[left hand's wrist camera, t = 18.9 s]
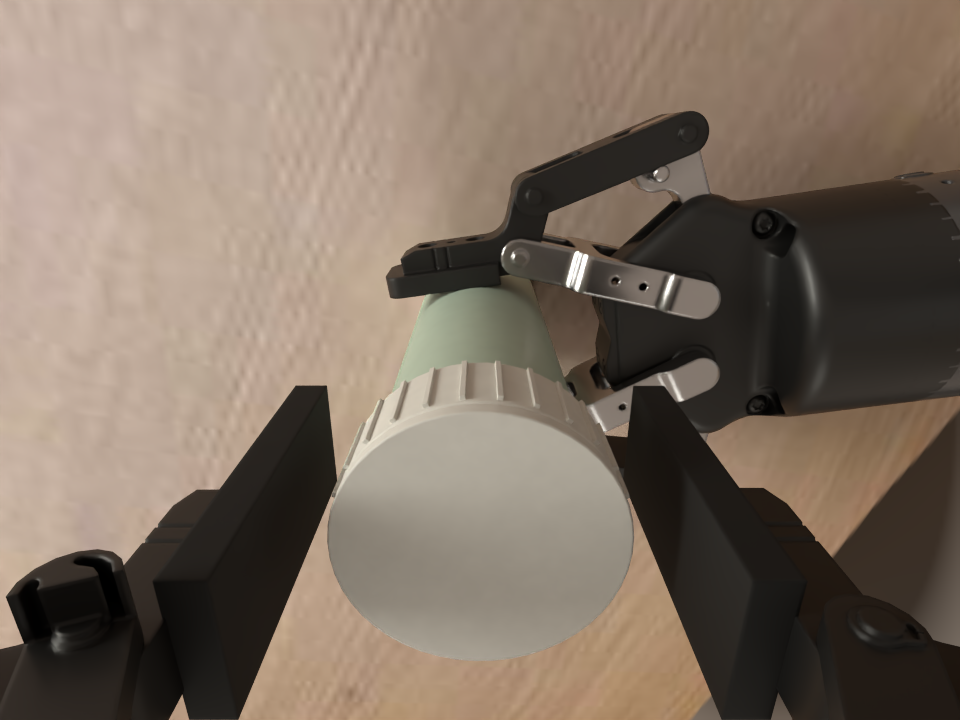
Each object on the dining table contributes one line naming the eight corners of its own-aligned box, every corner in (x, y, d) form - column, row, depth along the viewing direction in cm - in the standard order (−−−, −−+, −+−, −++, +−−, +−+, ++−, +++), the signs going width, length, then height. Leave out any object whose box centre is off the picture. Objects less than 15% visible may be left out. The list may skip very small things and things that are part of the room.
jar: (409, 272, 25) (310, 461, 11) (510, 230, 25) (556, 369, 10) (452, 365, 27) (419, 641, 12) (549, 328, 26) (636, 573, 12)
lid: (643, 382, 12) (679, 437, 10) (576, 597, 14) (594, 681, 12) (364, 335, 11) (338, 381, 9) (339, 562, 13) (311, 644, 11)
